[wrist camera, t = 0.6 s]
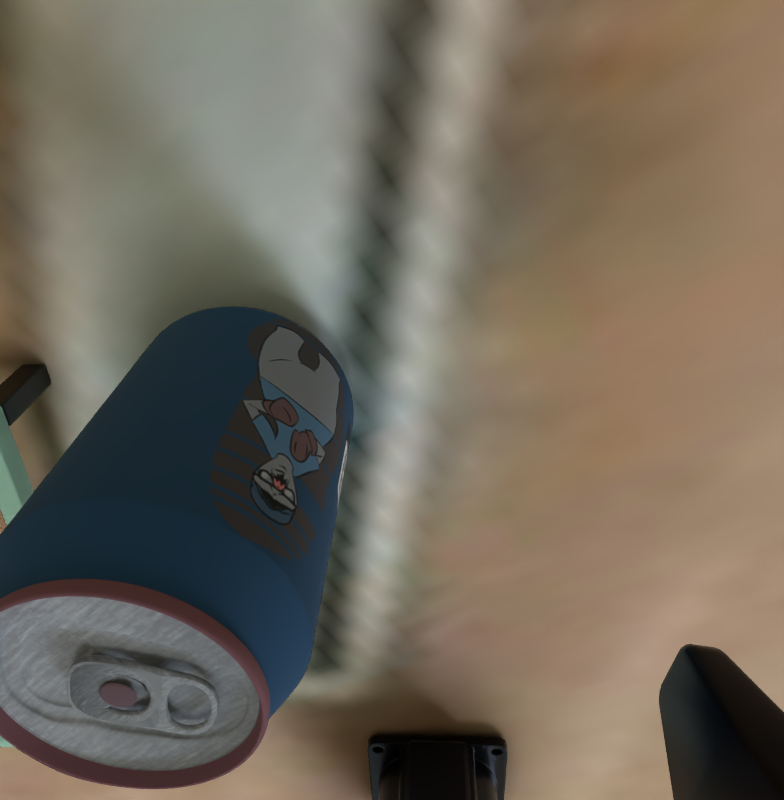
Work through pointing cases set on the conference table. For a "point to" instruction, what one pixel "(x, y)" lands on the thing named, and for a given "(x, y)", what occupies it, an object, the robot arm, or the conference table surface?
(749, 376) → the conference table surface
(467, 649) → the conference table surface
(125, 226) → the conference table surface
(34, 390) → the rack
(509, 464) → the conference table surface
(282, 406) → the soda can
